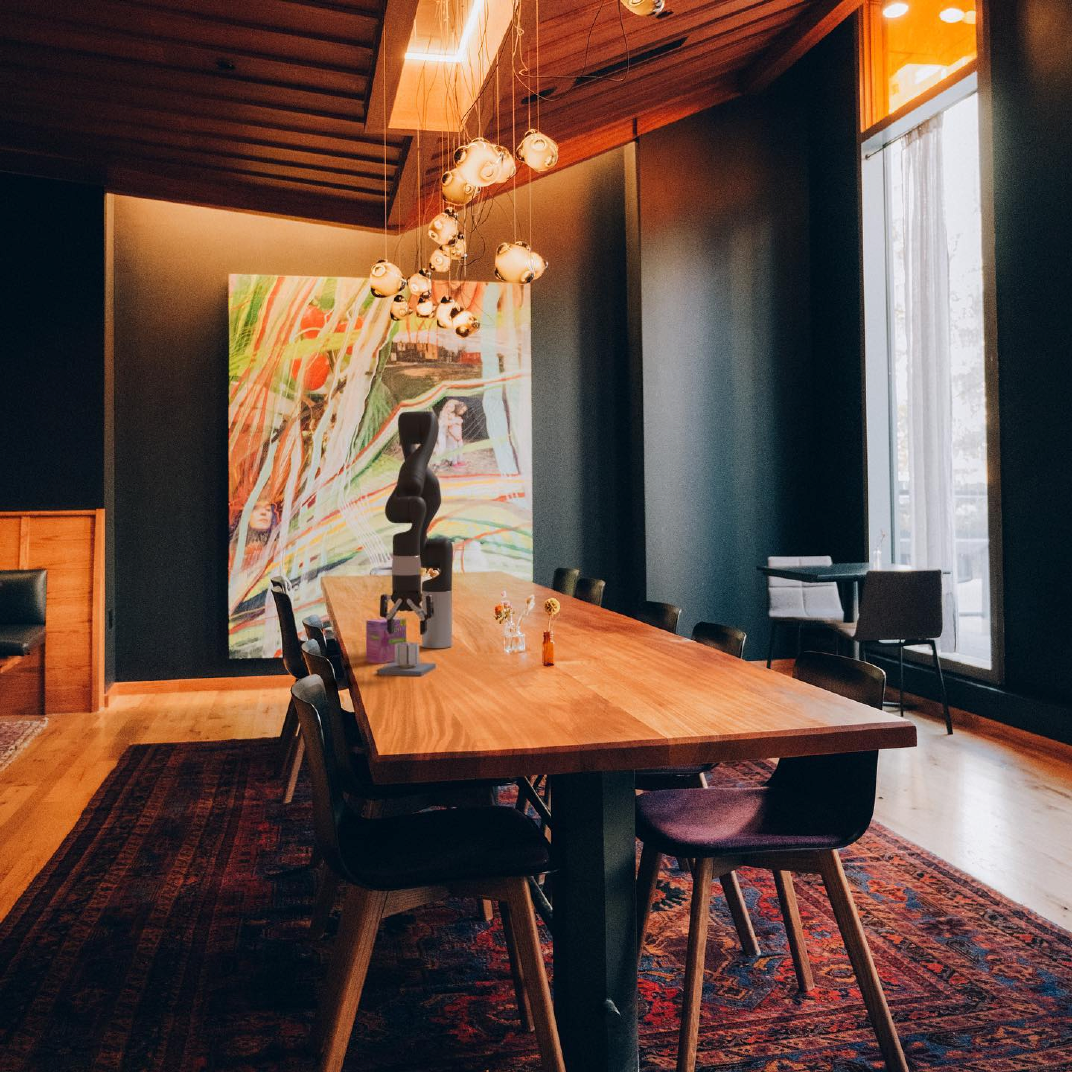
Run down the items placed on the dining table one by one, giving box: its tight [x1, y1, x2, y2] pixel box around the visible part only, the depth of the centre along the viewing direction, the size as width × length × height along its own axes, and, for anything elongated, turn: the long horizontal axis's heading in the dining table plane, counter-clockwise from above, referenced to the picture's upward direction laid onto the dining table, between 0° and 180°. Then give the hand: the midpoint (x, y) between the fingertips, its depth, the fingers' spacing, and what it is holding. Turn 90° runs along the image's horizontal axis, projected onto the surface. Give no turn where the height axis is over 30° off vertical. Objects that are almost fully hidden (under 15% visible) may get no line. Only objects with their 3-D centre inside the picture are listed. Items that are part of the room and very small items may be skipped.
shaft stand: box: [376, 643, 437, 677], centre depth 244 cm, size 12×12×7 cm
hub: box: [394, 641, 420, 665], centre depth 244 cm, size 6×6×5 cm
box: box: [365, 616, 407, 665], centre depth 260 cm, size 10×6×12 cm, turn 143°
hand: (407, 633), depth 244 cm, fingers open, 8 cm apart
